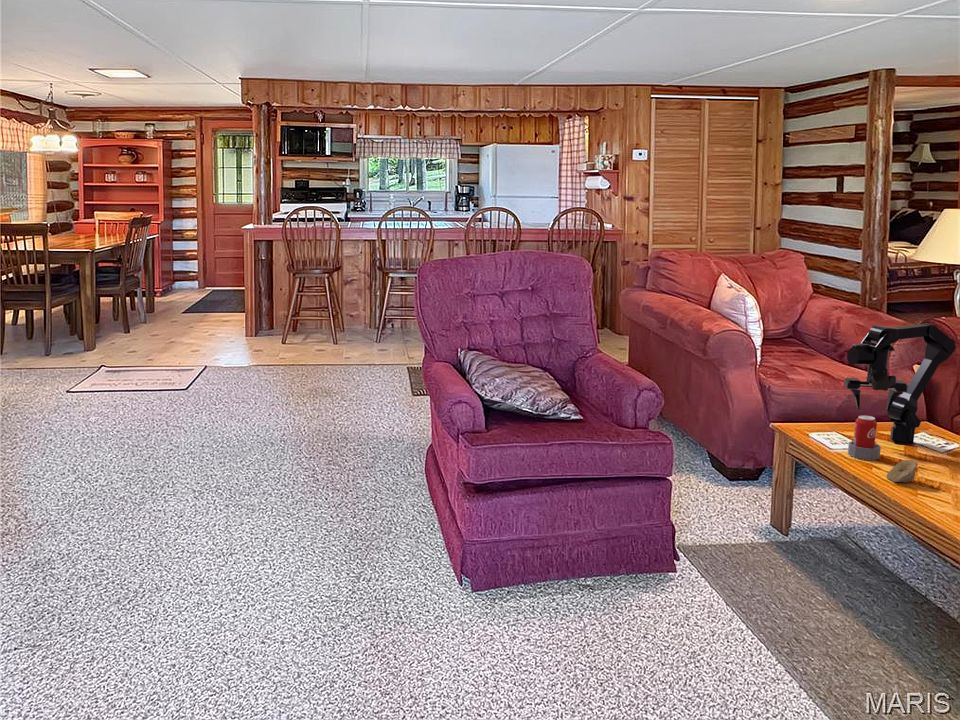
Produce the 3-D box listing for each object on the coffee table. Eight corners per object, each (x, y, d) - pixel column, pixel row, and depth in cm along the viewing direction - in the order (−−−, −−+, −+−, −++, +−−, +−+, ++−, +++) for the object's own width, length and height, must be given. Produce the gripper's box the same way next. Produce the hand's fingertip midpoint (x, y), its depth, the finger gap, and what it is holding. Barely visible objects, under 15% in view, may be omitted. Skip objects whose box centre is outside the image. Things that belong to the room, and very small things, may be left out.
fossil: (901, 456, 270) (921, 459, 260) (910, 467, 270) (931, 470, 260) (880, 477, 269) (900, 480, 259) (890, 487, 269) (909, 492, 260)
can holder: (875, 453, 293) (876, 441, 293) (882, 461, 284) (883, 449, 284) (845, 451, 295) (846, 439, 294) (851, 459, 286) (852, 447, 285)
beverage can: (873, 457, 286) (877, 420, 283) (851, 454, 288) (855, 418, 286) (873, 452, 291) (877, 416, 289) (852, 449, 294) (856, 414, 292)
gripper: (853, 367, 292) (848, 413, 295) (914, 370, 289) (909, 417, 292) (846, 360, 303) (841, 405, 306) (905, 364, 299) (900, 409, 302)
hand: (872, 409), depth 301 cm, fingers open, 9 cm apart
